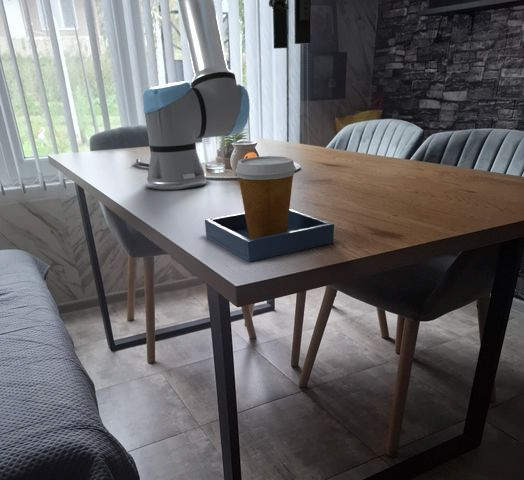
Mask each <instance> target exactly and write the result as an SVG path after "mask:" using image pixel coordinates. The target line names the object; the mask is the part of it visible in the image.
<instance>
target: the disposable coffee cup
mask: <svg viewBox="0 0 524 480" xmlns="http://www.w3.org/2000/svg"><path fill="white" fill-rule="evenodd" d="M296 170H297V167H296V166H295V162H294V159H293V158H292V157H289V156H281V155H279V156H277V155H263V156H262V155H261V156H253V157H252V156H251V157H245V158H241V159H239V160H237V166H236V168H235V169H234V172H235V173H236V177H237V178H238V183H239V188H240V194H241V199H242V204H243V210H244V213H245V217H246V222H247V228H248V233H249V238H250V239H256V238H261V237H265V236H270V235H275V234H280V233H285V232H287V227H288V218H289V209H291V208H290V207H291V198H292V191H293V190H292V188H293V179H294V175H295V171H296Z"/></svg>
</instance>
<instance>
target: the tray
mask: <svg viewBox="0 0 524 480" xmlns="http://www.w3.org/2000/svg"><path fill="white" fill-rule="evenodd" d="M204 227H205V236H206V239H207V240H210V241H211V242H213V243H215V244H217V245H219V246H220V247H222V248H224V249H225V250H227V251H229V252H231V253H232V254H234V255H236V256H238V257H240V258H241V259H242V260H244V261H246V262H249V263H251V262H256V261H260V260H264V259H269V258H273V257H277V256H281V255H287V254H290V253H295V252H299V251H303V250H308V249H312V248H317V247H321V246H327V245H330V244H334V242H335V241H334V238H335V237H334V236H335V223H332V222H330V221H326V220H323V219H321V218H319V217H315V216H312V215H309V214H306V213H304V212H300V211H298V210H295V209H292V208H290V209H289V218H288V227H287V232H285V233H280V234H275V235H270V236H265V237H261V238H256V239H250V238H249V233H248V228H247V222H246V217H245V212H241V213H236V214H235V213H234V214H230V215H225V216H219V217H213V218H207V219H205V220H204Z"/></svg>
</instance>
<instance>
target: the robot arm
mask: <svg viewBox="0 0 524 480" xmlns="http://www.w3.org/2000/svg"><path fill="white" fill-rule="evenodd" d="M177 1H178V5H179V10H180V15H181V21H182V24H183V28H184V33H185V38H186V41H187V47H188V51H189V56H190V60H191V65H192V70H193V73H194V76H193V78H192V80H191V82H189V81H186V80H185V81H178V82H172V83H171V82H170V83H166V84H161V85H157V86H152V87H149V88H146V90H144V91H143V95H142V100H143V101H142V103H143V113H144V117H145V125H146V131H147V138H148V144H149V151H150V158H149V163H145V162H140V158H136V164H137V166H140V167H145V168H148V170H147V176H146V177H147V178H146V181H147V187H148V188H150V189H152V190H153V189H154V190H161V191H162V190H163V191H174V190H185V189H192V188H197V187H201V186H203V185H205V184H207V174H206V172H205V169H204V167H203V165H202V162H201V159H200V157H199V154H198V152H197V145H196V143H197V142H196V140H197V139H209V138H217V137H219V138H220V137H230V136H233V135H239V134H241V133H242V132H243V131H244V130H245V128H246V127H247V124H248V121H249V116H250V104H251V103H250V96H249V95H250V94H249V92H248V90H247V89H246V87H245V85H242V84H240V83H238V84H237V79H236V74H235V73H234V72H233V71H232V70H230V69H229V68H228V64H227V59H226V53H225V49H224V44H223V39H222V36H221V35H222V34H221V30H220V25H219V20H218V14H217V11H216V10H217V9H216V6H215V0H177ZM311 1H312V0H294V10H293V11H294V45H309V44H311V19H312V18H311V11H312V9H311V8H312V2H311ZM268 6H269V7H270V8H271V10H272V31H273V32H272V33H273V35H272V36H273V49H288V10H289V5H288V3H287V0H269V1H268Z"/></svg>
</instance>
